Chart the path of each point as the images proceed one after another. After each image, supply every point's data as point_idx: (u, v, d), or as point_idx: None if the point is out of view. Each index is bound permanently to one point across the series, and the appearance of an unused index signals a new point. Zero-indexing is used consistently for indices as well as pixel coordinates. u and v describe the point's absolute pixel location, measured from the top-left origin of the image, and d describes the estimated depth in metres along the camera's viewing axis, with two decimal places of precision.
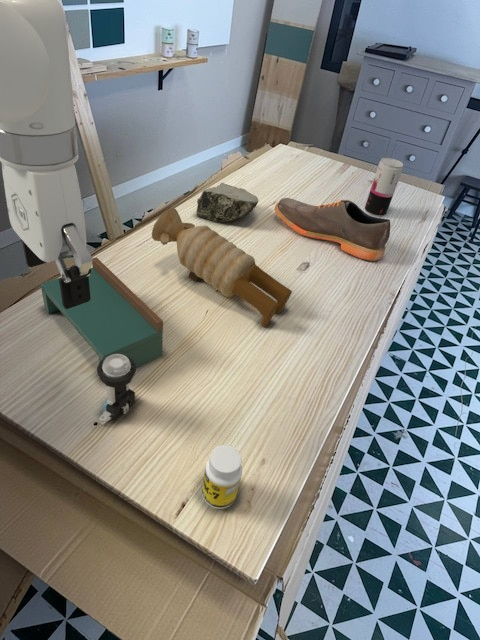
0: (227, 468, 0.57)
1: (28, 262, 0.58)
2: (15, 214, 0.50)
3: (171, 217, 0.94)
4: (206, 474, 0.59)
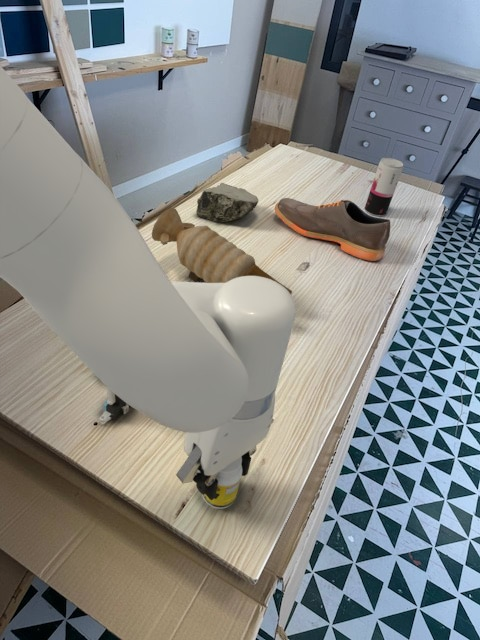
0: (228, 467, 0.57)
1: None
2: None
3: (171, 217, 0.94)
4: None
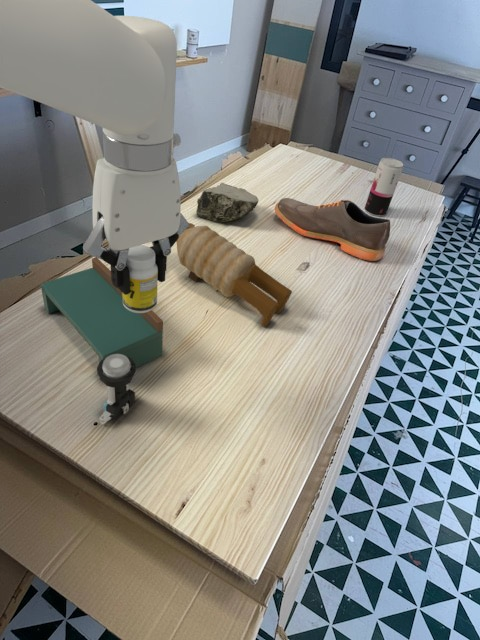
0: (139, 258, 0.59)
1: None
2: None
3: None
4: None
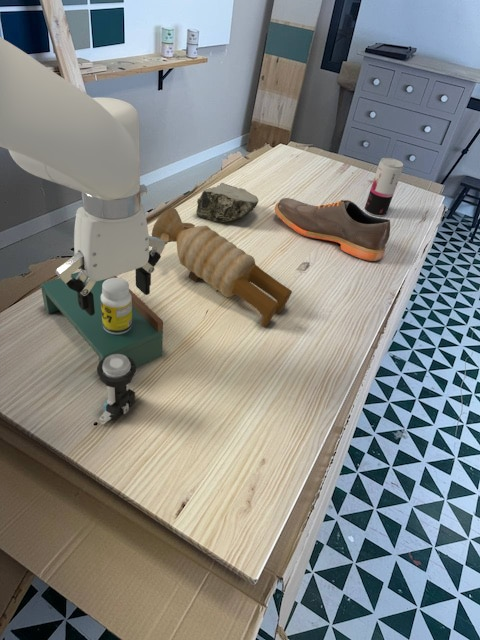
0: (115, 290, 0.71)
1: (137, 282, 0.77)
2: None
3: (171, 217, 0.94)
4: None
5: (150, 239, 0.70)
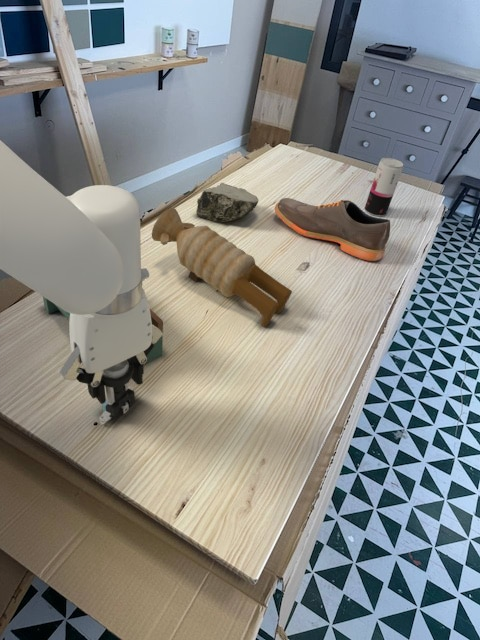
0: None
1: None
2: None
3: (171, 217, 0.94)
4: None
5: None
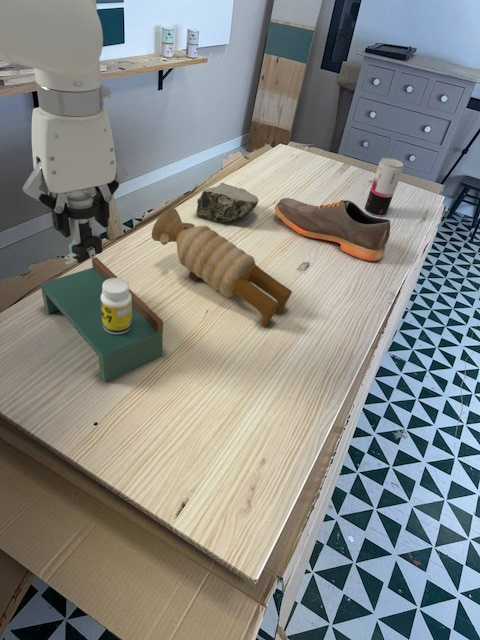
0: (115, 290, 0.71)
1: (96, 215, 0.72)
2: None
3: (171, 217, 0.94)
4: (101, 300, 0.72)
5: None
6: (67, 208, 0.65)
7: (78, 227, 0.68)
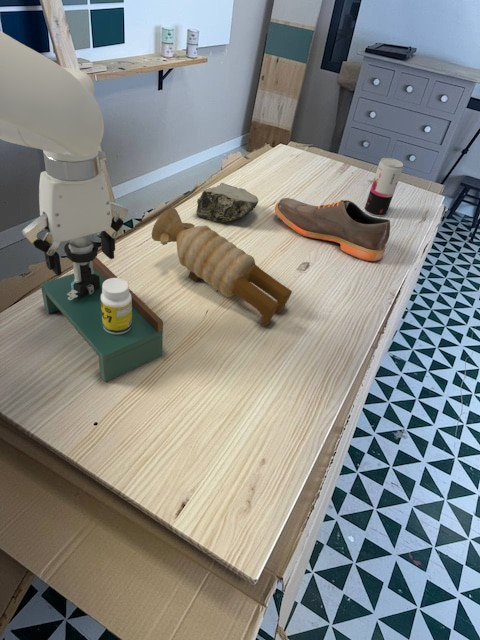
0: (115, 290, 0.71)
1: None
2: None
3: (171, 217, 0.94)
4: (101, 300, 0.72)
5: (112, 205, 0.76)
6: (70, 253, 0.75)
7: (79, 268, 0.78)
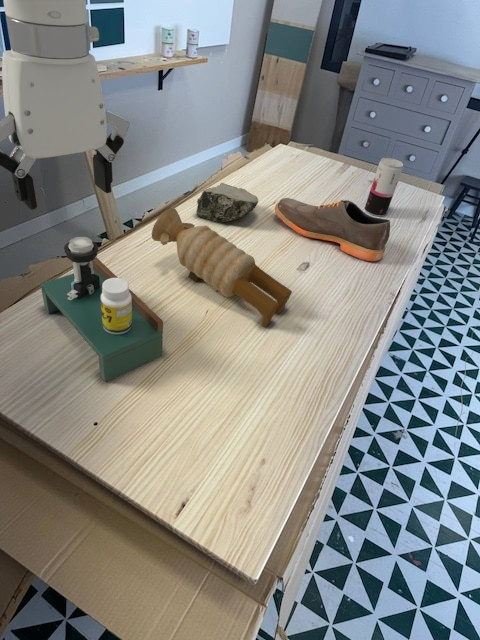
0: (115, 290, 0.71)
1: None
2: None
3: (171, 217, 0.94)
4: (101, 300, 0.72)
5: (108, 113, 0.55)
6: (70, 253, 0.75)
7: (79, 268, 0.78)
